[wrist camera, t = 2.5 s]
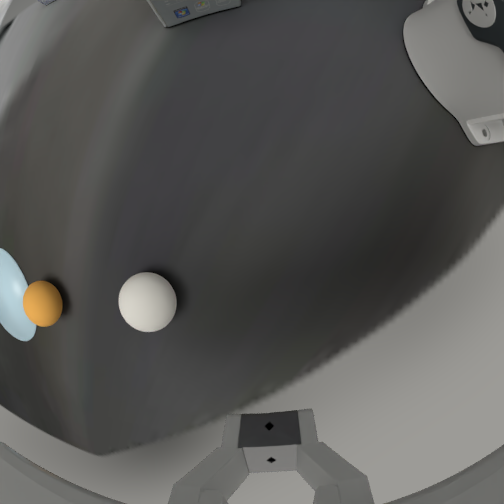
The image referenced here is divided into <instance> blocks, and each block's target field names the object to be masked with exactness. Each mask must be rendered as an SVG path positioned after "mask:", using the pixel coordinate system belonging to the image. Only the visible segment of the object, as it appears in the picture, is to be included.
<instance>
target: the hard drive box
mask: <svg viewBox="0 0 504 504" xmlns="http://www.w3.org/2000/svg"><path fill="white" fill-rule="evenodd" d="M147 2H148V3H149V5H150V6H151V8H152V9H153V11H154V12H155V14H156V15H157V17H158V18H159V20H160V21H161V23H162V24H163V25H164V26H165V27H167V26H168V27H171V26H173V25H176V24H179V23H182V22H184V21H187V20H190V19H193V18H197V17H200V16H203V15H207V14H210V13H214V12H217V11H221V10H226V9H230V8H234V7H238V6H240V5H241V0H147Z"/></svg>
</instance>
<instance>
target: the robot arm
mask: <svg viewBox="0 0 504 504" xmlns="http://www.w3.org/2000/svg"><path fill="white" fill-rule="evenodd" d="M403 35H404V42H405V46H406V49H407V52H408V55H409V57H410V59H411V62H412V64H413V66H414V68H415V69H416V71H417V73H418V75H419V76H420V78H421V79H422V81H423V82H424V84H425V85H426V87H427V88H428V89H429V91H430V92H431V93H432V94H433V95H434V97H435V98H436V99H437V100H438V101H439V102H440V103H441V104H442V105H443V106H444V107H445V108H446V109H447V110H448V111H449V112H450V113H451V114H452V115H453V116H454V117H455V118H456V119H457V120H458V121H459V123H460V125H461V127H462V128H463V130H464V132H465V134H466V135H467V137H468V139H469V140H470V142H471V143H472V144H473V145H475V146H480V145H487V144H493V143H499V142H504V0H426V1H425V2H424V5H423V8H422V9H420V10H418V11H416V12H414V13H412V14H411V15H410V16H409V17H408V18H407V19H406V21H405V23H404V28H403ZM293 470H297V472H298V473H299V474H300V475H301V476H302V477H303V478H304V479H305V481H306V482H307V483H308V484H309V485H310V486H311V487H312V488H313V489H314V490H315V496H314V502H313V504H374V501H373V497H372V493H371V489H370V485H369V482H368V478H367V476H366V475H364V474H363V473H362V472H360V471H359V470H358V469H357V468H355V467H354V466H352V465H351V464H350V463H349V462H347V461H346V460H345V459H343V458H342V457H341V456H340V455H338V454H337V453H336V452H335V451H333V450H332V449H331V448H330V447H328V446H327V445H326V444H325V443H323V442H318V438H317V432H316V426H315V421H314V415H313V410H312V409H304V410H298V411H297V410H294V411H285V412H274V413H263V414H228V415H227V417H226V422H225V428H224V434H223V440H222V445H221V448H216V449H215V450H214V451H213V452H212V453H211V454H209V455H208V456H207V457H206V458H205V459H204V460H203V461H201V462H200V463H199V464H198V465H197V466H196V467H194V469H192V470H191V471H190V472H188V473H187V474H186V475H185V476H184V477H183V478H181V479H180V480H179V481H177V482H176V483H175V484H174V485H173V488H172V492H171V495H170V498H169V502H168V504H228V503H227V500H228V499H229V498H230V497H231V495H232V494H233V493H234V492H235V491H236V490H237V489H238V487H239V486H240V485H241V483H243V481H244V480H245V479H246V478H247V476H248V475H249V473H258V472H275V471H293ZM0 504H125V503H122V502H119V501H116V500H113V499H110V498H107V497H104V496H102V495H99V494H97V493H94V492H92V491H89V490H87V489H84V488H82V487H80V486H78V485H75V484H73V483H71V482H69V481H67V480H64V479H63V478H61V477H59V476H57V475H55V474H53V473H51V472H49V471H47V470H45V469H44V468H42V467H40V466H38V465H37V464H35V463H33V462H32V461H30V460H28V459H27V458H25V457H23V456H22V455H20V454H19V453H17V452H16V451H14V450H13V449H12V448H10V447H9V446H7V445H6V444H4V443H2V442H0ZM384 504H504V445H502V446H501V447H499V448H498V449H497V450H495V451H494V452H492V453H491V454H489V455H488V456H486V457H484V458H483V459H481V460H480V461H478V462H476V463H475V464H473V465H471V466H470V467H468V468H466V469H464V470H463V471H461V472H459V473H457V474H455V475H453V476H451V477H449V478H447V479H445V480H443V481H441V482H439V483H437V484H435V485H432V486H430V487H428V488H425V489H423V490H421V491H418V492H416V493H413V494H411V495H408V496H405V497H402V498H400V499H397V500H394V501H391V502H388V503H384Z"/></svg>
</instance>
